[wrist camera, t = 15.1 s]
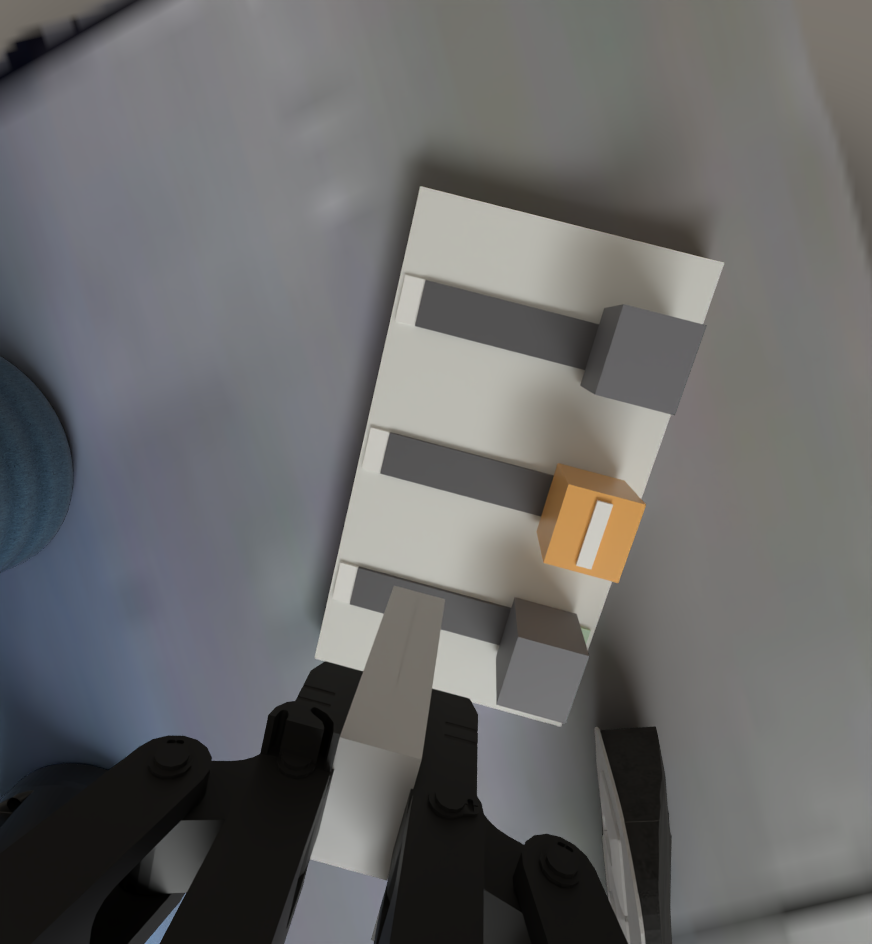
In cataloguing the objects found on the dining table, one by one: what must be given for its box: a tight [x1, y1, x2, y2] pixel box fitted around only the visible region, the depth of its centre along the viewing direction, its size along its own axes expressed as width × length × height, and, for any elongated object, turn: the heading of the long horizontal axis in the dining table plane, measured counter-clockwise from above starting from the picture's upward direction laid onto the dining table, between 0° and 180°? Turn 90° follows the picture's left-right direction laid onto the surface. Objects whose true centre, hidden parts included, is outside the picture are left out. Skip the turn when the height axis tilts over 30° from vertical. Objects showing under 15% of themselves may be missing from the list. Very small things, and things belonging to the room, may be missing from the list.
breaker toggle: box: [536, 463, 646, 583], centre depth 33 cm, size 4×4×5 cm
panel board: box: [315, 186, 724, 727], centre depth 35 cm, size 17×30×8 cm, turn 166°
